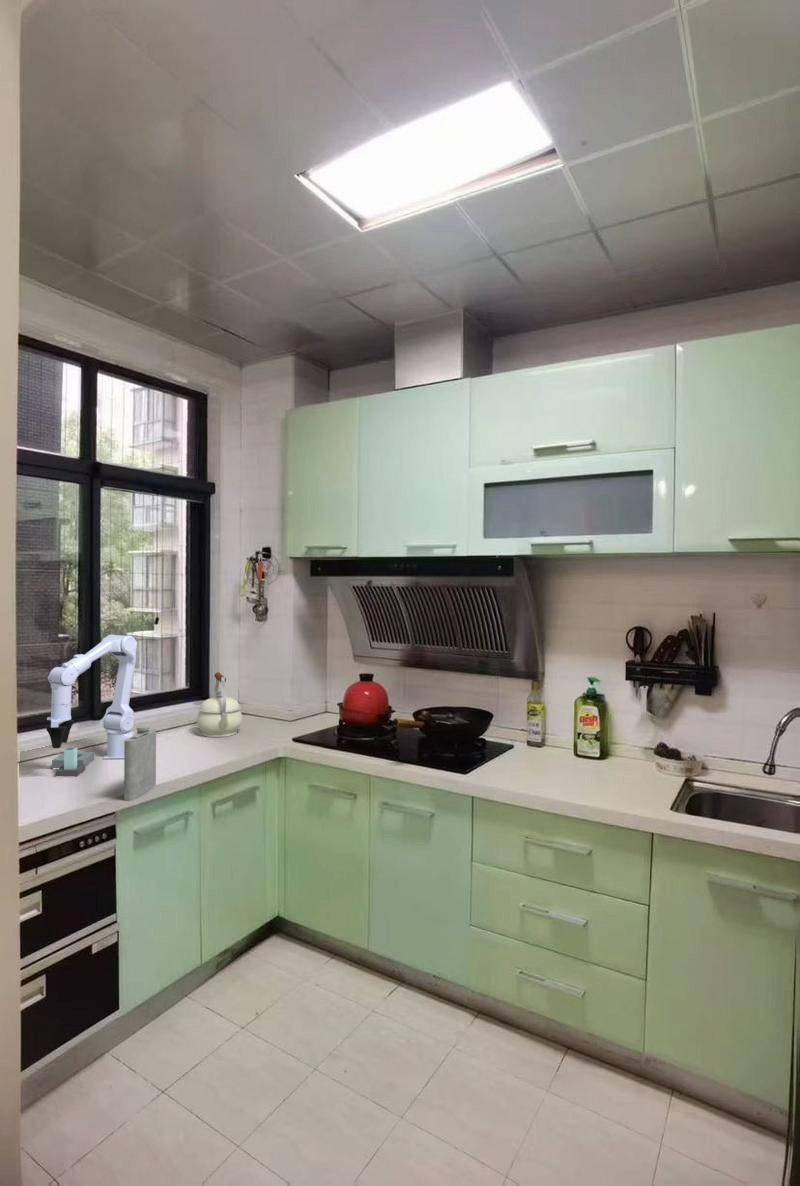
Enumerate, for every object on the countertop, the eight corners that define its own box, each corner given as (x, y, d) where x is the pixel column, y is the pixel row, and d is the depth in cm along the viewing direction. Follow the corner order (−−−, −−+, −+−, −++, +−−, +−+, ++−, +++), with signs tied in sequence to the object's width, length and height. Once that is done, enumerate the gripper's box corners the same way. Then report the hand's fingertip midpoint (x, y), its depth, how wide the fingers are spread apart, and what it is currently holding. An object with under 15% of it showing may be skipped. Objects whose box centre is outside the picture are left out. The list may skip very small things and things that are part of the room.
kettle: (193, 729, 269) (194, 672, 268) (237, 726, 277) (237, 670, 276) (201, 743, 246) (202, 680, 246) (248, 739, 254) (249, 678, 253)
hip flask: (147, 783, 198) (148, 720, 197) (160, 783, 197) (160, 720, 197) (122, 800, 182) (122, 732, 181) (135, 801, 182) (135, 732, 181)
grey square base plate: (85, 770, 210) (85, 764, 210) (77, 776, 203) (77, 770, 203) (64, 770, 209) (64, 764, 209) (55, 776, 203) (55, 770, 203)
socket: (94, 760, 221) (94, 751, 221) (83, 768, 212) (83, 759, 211) (64, 760, 220) (64, 751, 220) (51, 769, 210) (51, 759, 210)
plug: (77, 772, 208) (77, 745, 208) (73, 774, 205) (73, 748, 205) (67, 772, 208) (67, 745, 208) (63, 775, 205) (64, 748, 205)
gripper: (54, 700, 211) (53, 740, 211) (40, 707, 197) (39, 750, 197) (77, 700, 213) (75, 740, 213) (65, 707, 199) (64, 750, 199)
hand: (59, 745), depth 205 cm, fingers open, 7 cm apart
